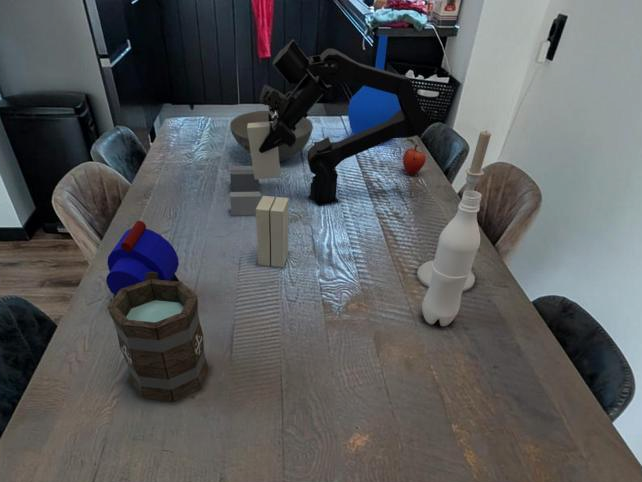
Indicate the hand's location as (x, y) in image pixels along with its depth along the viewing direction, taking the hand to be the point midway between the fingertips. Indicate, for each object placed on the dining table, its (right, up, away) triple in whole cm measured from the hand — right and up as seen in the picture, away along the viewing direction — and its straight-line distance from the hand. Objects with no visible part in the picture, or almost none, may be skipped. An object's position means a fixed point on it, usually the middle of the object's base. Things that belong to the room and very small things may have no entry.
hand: (259, 149), depth 124 cm
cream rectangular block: (+2, -4, +6) cm, 7 cm away
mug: (-13, -60, -39) cm, 73 cm away
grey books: (-5, -8, +10) cm, 14 cm away
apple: (+46, +7, +26) cm, 53 cm away
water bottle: (+39, -50, -27) cm, 69 cm away
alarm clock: (-21, -45, -25) cm, 56 cm away
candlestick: (+44, -38, -16) cm, 60 cm away
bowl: (+1, +16, +34) cm, 38 cm away
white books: (+4, -33, -12) cm, 35 cm away
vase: (+36, +30, +48) cm, 67 cm away
